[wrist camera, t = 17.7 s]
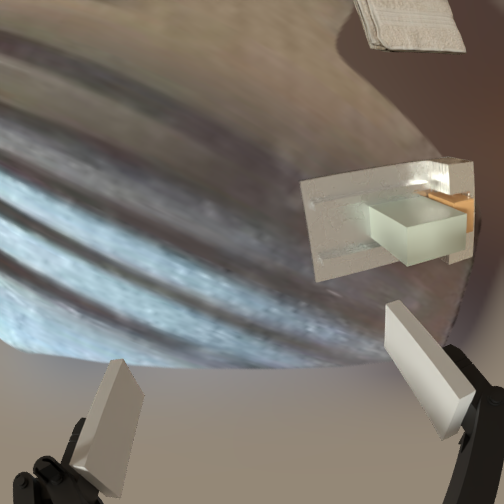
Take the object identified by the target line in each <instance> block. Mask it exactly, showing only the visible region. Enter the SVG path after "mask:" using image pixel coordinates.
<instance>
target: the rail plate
mask: <svg viewBox="0 0 504 504" xmlns="http://www.w3.org/2000/svg"><path fill="white" fill-rule="evenodd" d="M299 186H300V192H301V197H302V203H303V209H304V215H305V221H306V227H307V233H308V239H309V246H310V252H311V259H312V265H313V272H314V279H315V282H321V281H325V280H329V279H333V278H337V277H341V276H345V275H348V274H352V273H356V272H360V271H364V270H368V269H371V268H375V267H379V266H383V265H386V264H390V263H394V262H397V261H400V260H399V259H397V258H396V257H395V256H394V255H392V254H391V253H390V252H389V251H387V250H386V249H385V248H384V247H382V246H381V245H380V244H379V243H377V242H376V241H375V240H373V239H372V238H371V226H370V214H369V206H372V205H377V204H382V203H388V202H393V201H398V200H404V199H409V198H415V197H420V196H424V197H427V198H429V197H428V194H429V193H434V192H442V193H445V194H448V195H453V194H458V193H459V194H462V195H465V196H468V197H471V198H473V199H474V221H475V189H474V188H475V186H474V164H473V161H468V160H462V159H458V158H452V157H443V158H435V159H427V160H420V161H412V162H405V163H398V164H391V165H385V166H378V167H372V168H366V169H360V170H354V171H348V172H342V173H337V174H331V175H326V176H320V177H315V178H310V179H305V180H300V181H299ZM473 243H474V225H473V231H472V232H469V233H466V247H465V250H462V251H459V252H456V253H452V254H449V255H446V256H442V257H439V258H440V259H441V260H443V261H444V262H446V263H447V264H452V263H455V262H458V261H461V260H464V259H467V258H470V257H473Z"/></svg>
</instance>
